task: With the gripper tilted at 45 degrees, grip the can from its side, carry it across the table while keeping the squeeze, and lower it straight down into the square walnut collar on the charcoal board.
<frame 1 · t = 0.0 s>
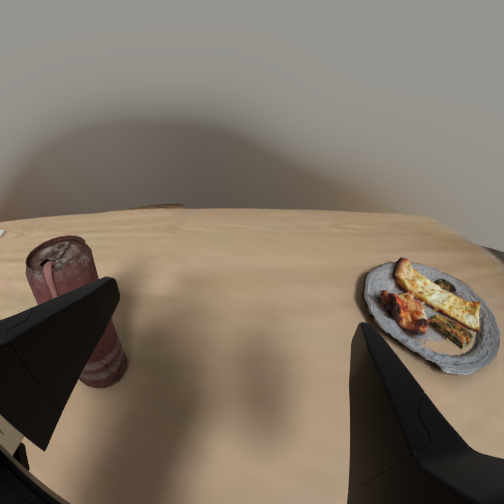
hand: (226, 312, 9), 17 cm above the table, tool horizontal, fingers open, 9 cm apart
can: (102, 369, 23), on the table
food plate: (432, 316, 33), on the table
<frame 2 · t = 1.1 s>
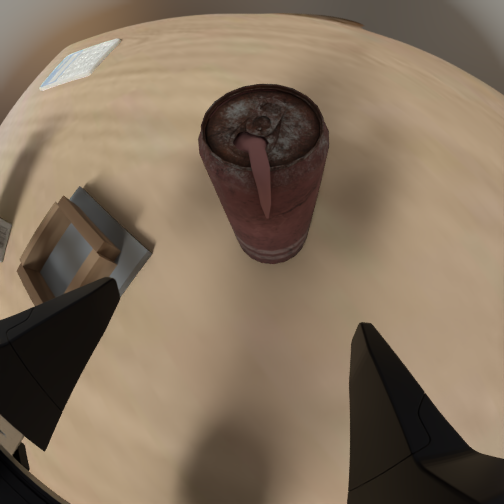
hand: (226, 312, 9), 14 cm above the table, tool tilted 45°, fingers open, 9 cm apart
collar: (76, 268, 25), on the table
can: (272, 234, 24), on the table
calculator: (78, 67, 41), on the table
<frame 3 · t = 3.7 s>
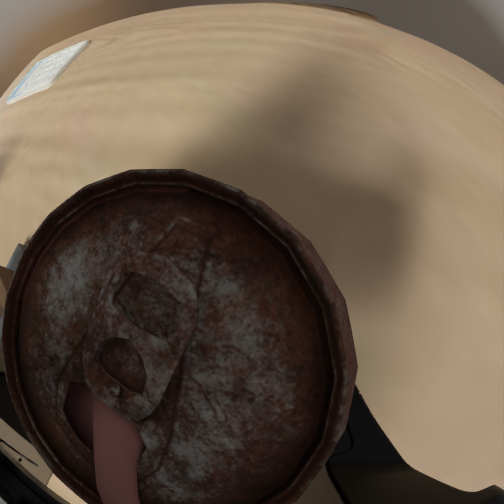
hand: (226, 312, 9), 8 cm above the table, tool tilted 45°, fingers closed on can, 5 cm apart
collar: (22, 346, 17), on the table
can: (246, 342, 16), on the table, touching gripper
calculator: (45, 75, 33), on the table
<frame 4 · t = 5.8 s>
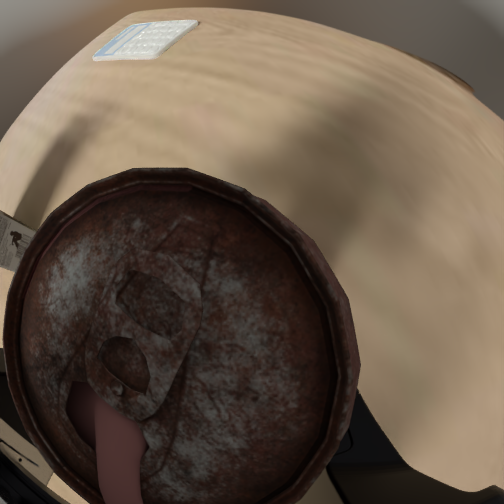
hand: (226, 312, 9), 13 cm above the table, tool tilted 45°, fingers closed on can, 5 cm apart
can: (247, 341, 16), point 5 cm above the table, touching gripper
calculator: (143, 42, 38), on the table
coffee box: (17, 244, 27), on the table
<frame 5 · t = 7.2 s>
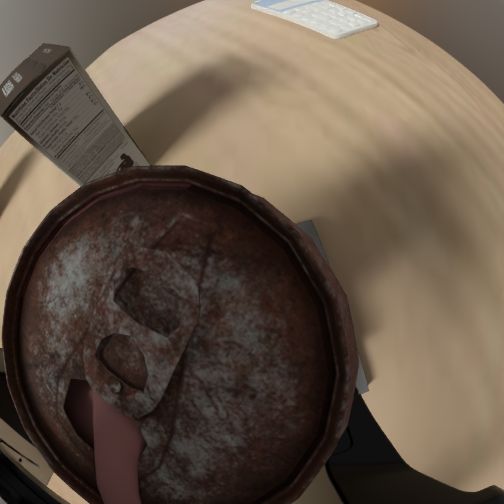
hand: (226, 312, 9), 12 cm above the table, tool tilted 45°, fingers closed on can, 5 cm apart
collar: (253, 335, 20), on the table
can: (246, 341, 16), point 4 cm above the table, touching gripper
calculator: (313, 15, 33), on the table
coffee box: (112, 170, 26), on the table
when the fingers open (9 cm above the table, at t = 8.1 s): can stays where it is, resting on collar.
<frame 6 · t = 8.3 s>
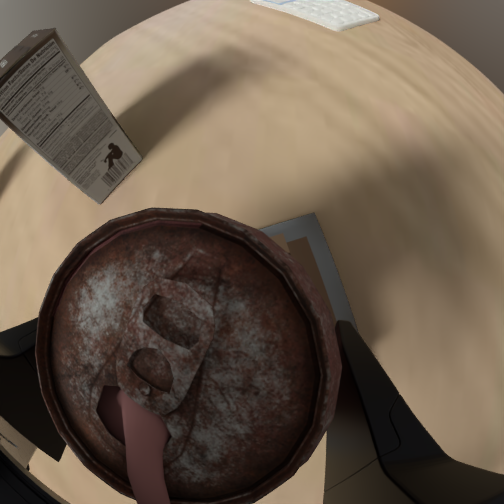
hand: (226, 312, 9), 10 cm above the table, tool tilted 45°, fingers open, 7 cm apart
collar: (249, 341, 18), on the table
can: (248, 345, 17), point 1 cm above the table, touching collar
calculator: (313, 9, 32), on the table
coffee box: (102, 163, 24), on the table
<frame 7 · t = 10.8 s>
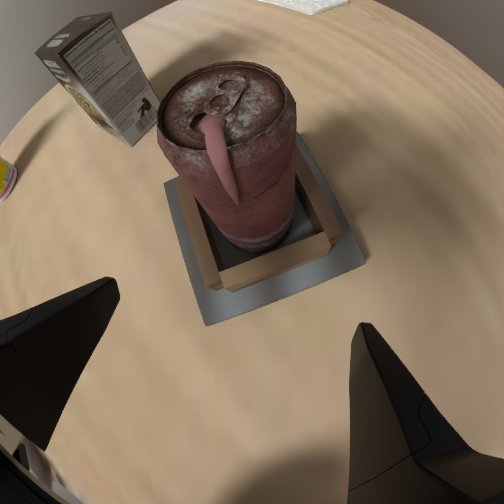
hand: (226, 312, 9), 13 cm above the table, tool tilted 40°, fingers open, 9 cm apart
collar: (257, 221, 24), on the table
supplement bottle: (8, 185, 32), on the table
can: (257, 220, 23), point 1 cm above the table, touching collar
coffee box: (130, 120, 30), on the table
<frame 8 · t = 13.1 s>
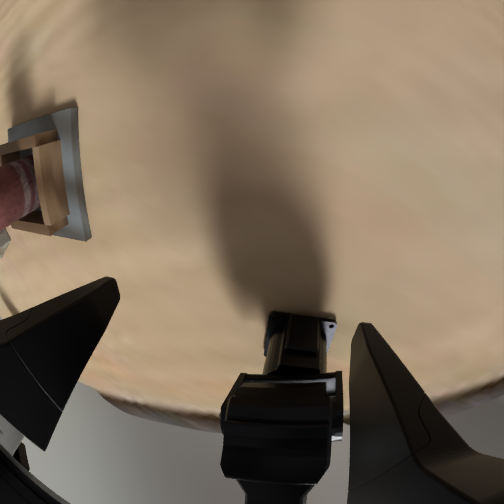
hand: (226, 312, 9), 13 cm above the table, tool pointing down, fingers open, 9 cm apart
collar: (44, 176, 23), on the table
can: (40, 178, 23), point 1 cm above the table, touching collar
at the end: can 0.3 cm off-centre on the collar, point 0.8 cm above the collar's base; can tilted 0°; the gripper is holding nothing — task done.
